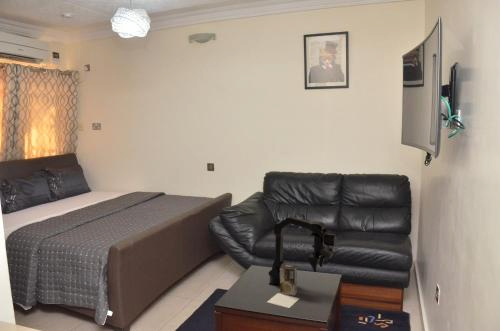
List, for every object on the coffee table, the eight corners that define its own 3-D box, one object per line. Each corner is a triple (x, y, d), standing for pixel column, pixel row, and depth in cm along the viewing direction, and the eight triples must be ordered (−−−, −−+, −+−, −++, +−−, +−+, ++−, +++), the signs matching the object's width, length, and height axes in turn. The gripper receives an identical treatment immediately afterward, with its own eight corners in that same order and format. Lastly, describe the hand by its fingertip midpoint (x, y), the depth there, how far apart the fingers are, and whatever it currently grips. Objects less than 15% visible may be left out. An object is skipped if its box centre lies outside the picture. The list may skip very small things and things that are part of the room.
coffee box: (297, 291, 235) (297, 265, 233) (294, 296, 229) (295, 269, 227) (282, 289, 238) (282, 264, 236) (279, 294, 232) (279, 267, 230)
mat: (266, 302, 221) (266, 301, 221) (277, 293, 233) (277, 293, 233) (289, 308, 214) (289, 307, 214) (299, 298, 225) (299, 298, 225)
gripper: (325, 250, 218) (325, 277, 219) (337, 241, 233) (336, 267, 235) (307, 247, 223) (306, 273, 225) (319, 238, 239) (319, 263, 241)
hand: (318, 269), depth 231 cm, fingers open, 9 cm apart
